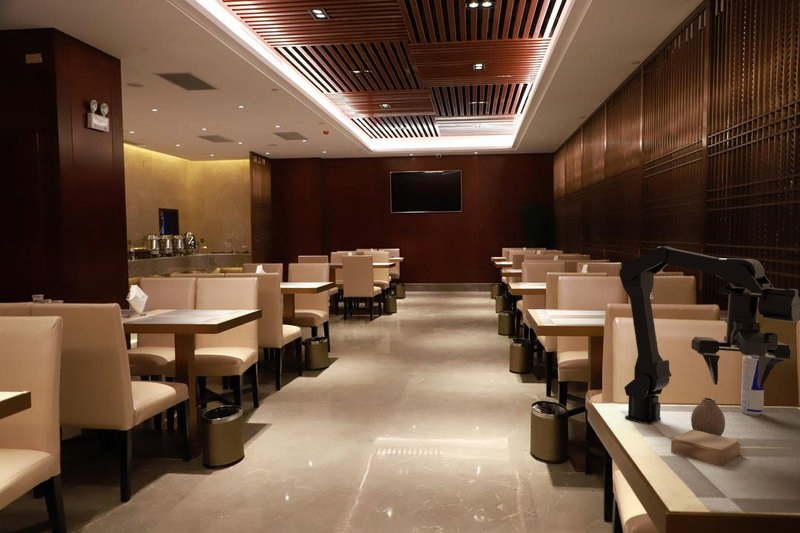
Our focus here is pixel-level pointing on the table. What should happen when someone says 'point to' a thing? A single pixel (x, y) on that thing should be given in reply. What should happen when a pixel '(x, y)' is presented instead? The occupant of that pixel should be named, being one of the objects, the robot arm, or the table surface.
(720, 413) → the vase
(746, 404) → the beverage can
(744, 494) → the table surface
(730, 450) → the plinth
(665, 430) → the table surface
